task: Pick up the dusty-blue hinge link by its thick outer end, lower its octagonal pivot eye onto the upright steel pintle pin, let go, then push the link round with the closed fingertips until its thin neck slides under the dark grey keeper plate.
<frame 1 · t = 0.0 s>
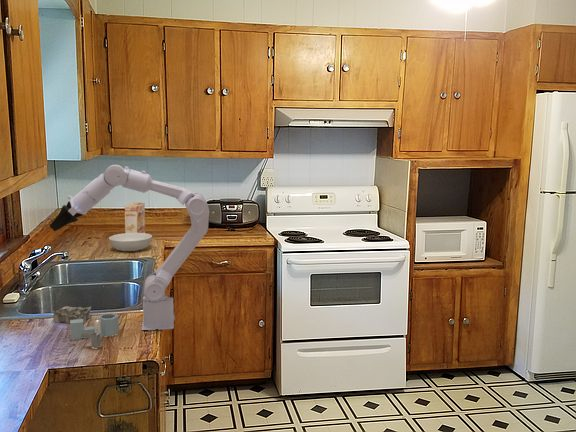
hand: (54, 226, 157), 32 cm above the worktop, tool tilted 50°, fingers open, 7 cm apart
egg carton: (72, 320, 173), on the worktop
keeper: (90, 340, 150), on the worktop
coffeecake box: (135, 239, 299), on the worktop
serving bowl: (131, 250, 273), on the worktop
pintle: (98, 340, 156), on the worktop
link: (77, 337, 158), on the worktop
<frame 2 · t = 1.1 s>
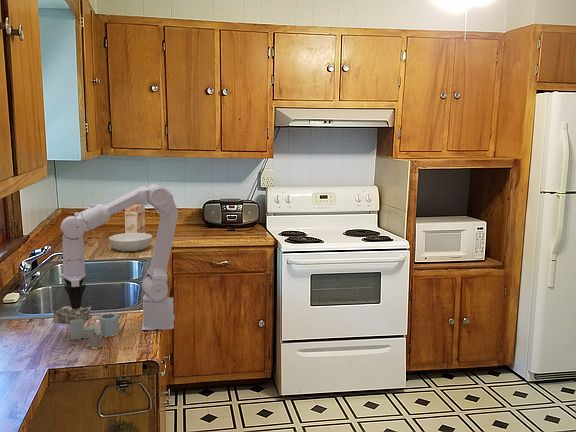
hand: (75, 304, 156), 10 cm above the worktop, tool pointing down, fingers open, 7 cm apart
nothing on the worktop moved.
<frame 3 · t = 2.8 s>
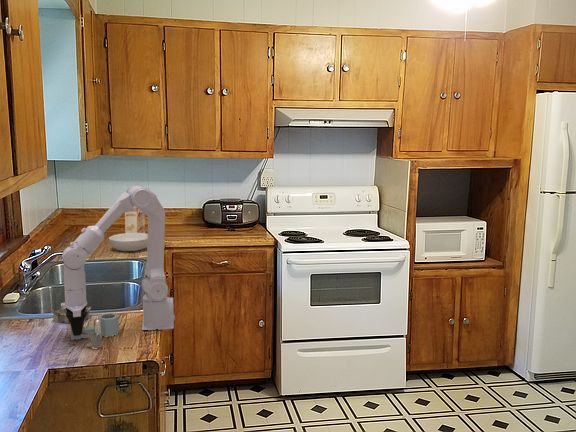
hand: (77, 332, 158), 1 cm above the worktop, tool pointing down, fingers closed on link, 3 cm apart
link: (77, 337, 158), on the worktop, touching gripper
everything else where it was.
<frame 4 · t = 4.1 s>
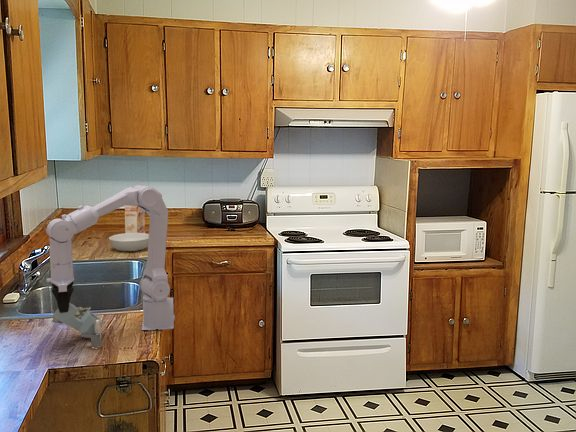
hand: (63, 309, 151), 10 cm above the worktop, tool pointing down, fingers closed on link, 4 cm apart
link: (59, 319, 151), point 8 cm above the worktop, tilted 42°, touching gripper, pintle
everything else where it was.
when the fingers open (3 cm above the worktop, at t = 5.9 s): link stays where it is, on the worktop.
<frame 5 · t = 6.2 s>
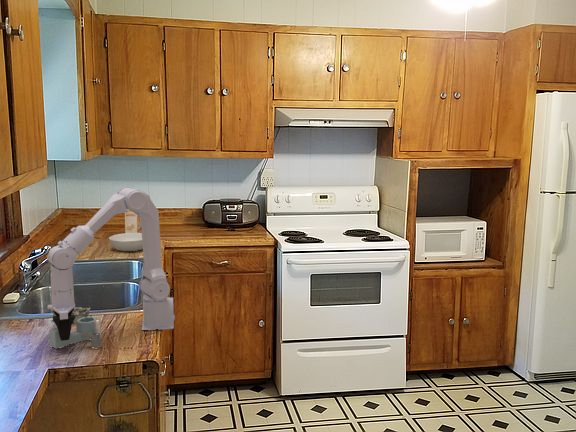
hand: (64, 335, 152), 3 cm above the worktop, tool pointing down, fingers open, 6 cm apart
link: (59, 346, 151), on the worktop
everything else where it was.
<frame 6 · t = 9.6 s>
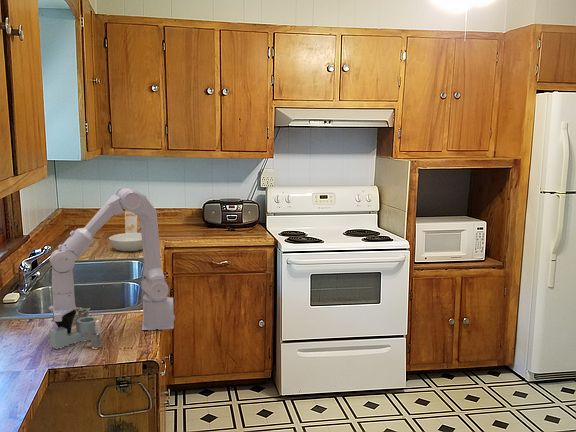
hand: (65, 337, 155), 1 cm above the worktop, tool pointing down, fingers closed
link: (59, 346, 151), on the worktop, touching gripper
everything else where it was.
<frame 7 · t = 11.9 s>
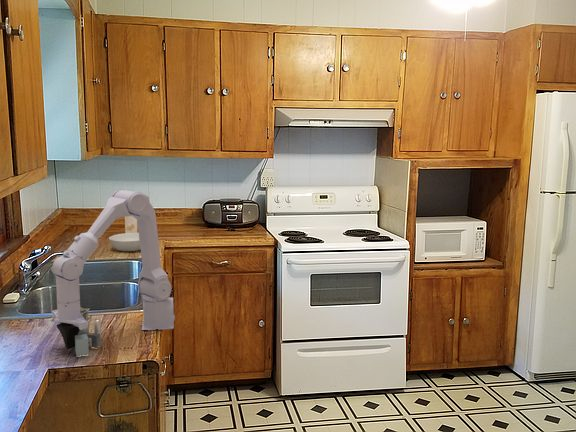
hand: (70, 348, 147), 1 cm above the worktop, tool pointing down, fingers closed, pressing on link
link: (82, 354, 146), on the worktop, touching gripper, keeper
everything else where it was.
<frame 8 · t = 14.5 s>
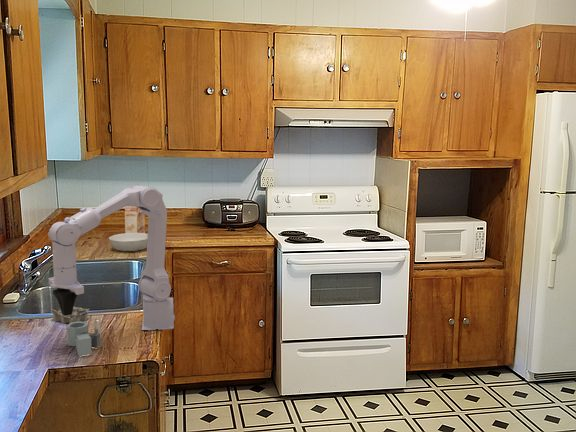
hand: (67, 314, 148), 10 cm above the worktop, tool pointing down, fingers closed
link: (84, 354, 146), on the worktop
at the end: link 1.6 cm from the target spot on the worktop beside the pintle, on the worktop; link on the worktop; link tilted 0° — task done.
